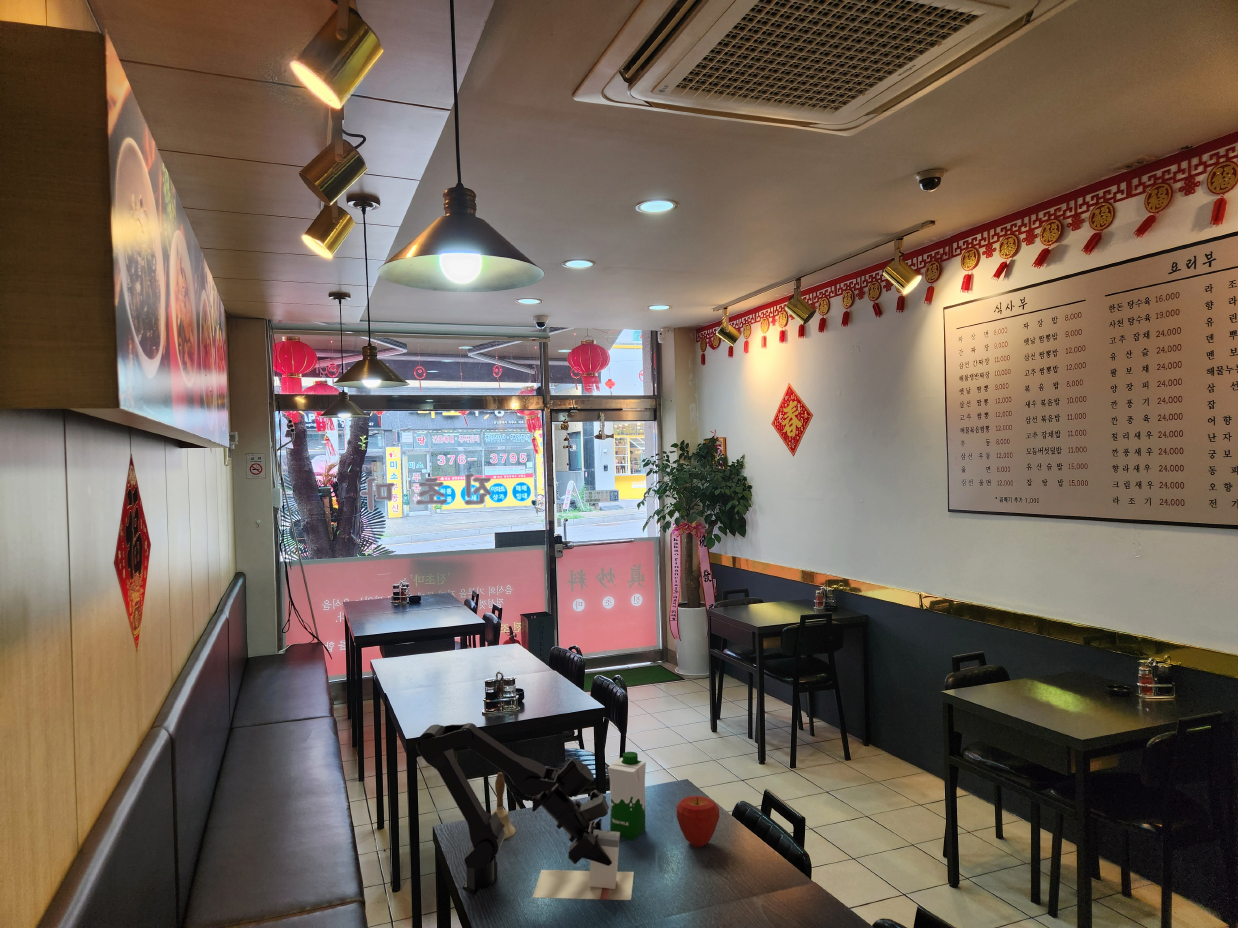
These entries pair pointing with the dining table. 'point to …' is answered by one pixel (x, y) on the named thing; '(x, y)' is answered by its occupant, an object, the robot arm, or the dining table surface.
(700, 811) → the apple
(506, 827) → the hand bell
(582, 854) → the robot arm
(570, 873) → the board
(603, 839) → the white slab
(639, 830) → the milk carton
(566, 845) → the dining table surface
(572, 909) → the dining table surface
